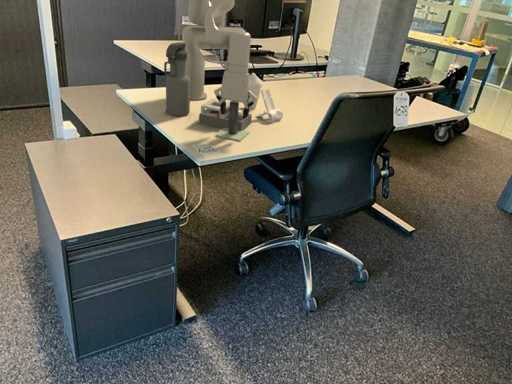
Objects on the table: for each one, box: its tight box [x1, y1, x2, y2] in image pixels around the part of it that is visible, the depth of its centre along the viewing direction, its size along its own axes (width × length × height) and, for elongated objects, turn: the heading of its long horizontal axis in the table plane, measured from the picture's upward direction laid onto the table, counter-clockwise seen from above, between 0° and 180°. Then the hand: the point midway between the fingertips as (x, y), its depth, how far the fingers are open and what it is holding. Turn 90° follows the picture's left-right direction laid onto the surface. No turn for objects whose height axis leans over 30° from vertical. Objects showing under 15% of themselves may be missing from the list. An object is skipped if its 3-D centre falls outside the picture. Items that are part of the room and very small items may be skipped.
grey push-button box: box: [198, 98, 253, 131], centre depth 170 cm, size 18×12×7 cm, turn 72°
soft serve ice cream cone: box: [248, 72, 263, 110], centre depth 190 cm, size 8×8×16 cm
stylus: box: [228, 100, 240, 135], centre depth 158 cm, size 3×3×12 cm
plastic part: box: [255, 88, 284, 123], centre depth 180 cm, size 8×10×12 cm
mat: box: [215, 128, 250, 142], centre depth 161 cm, size 10×10×1 cm
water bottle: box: [163, 41, 191, 117], centre depth 171 cm, size 10×10×28 cm
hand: (234, 115), depth 158 cm, fingers open, 8 cm apart
